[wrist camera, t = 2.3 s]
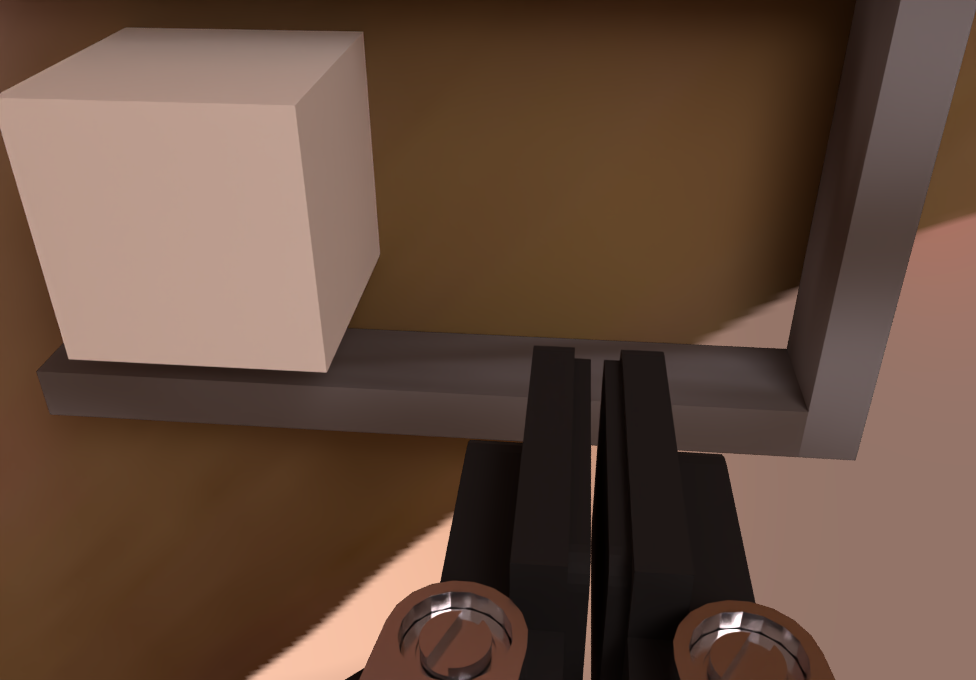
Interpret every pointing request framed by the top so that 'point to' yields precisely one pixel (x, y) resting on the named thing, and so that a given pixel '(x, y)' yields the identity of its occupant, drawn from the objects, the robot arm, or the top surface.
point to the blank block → (200, 194)
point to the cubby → (690, 368)
